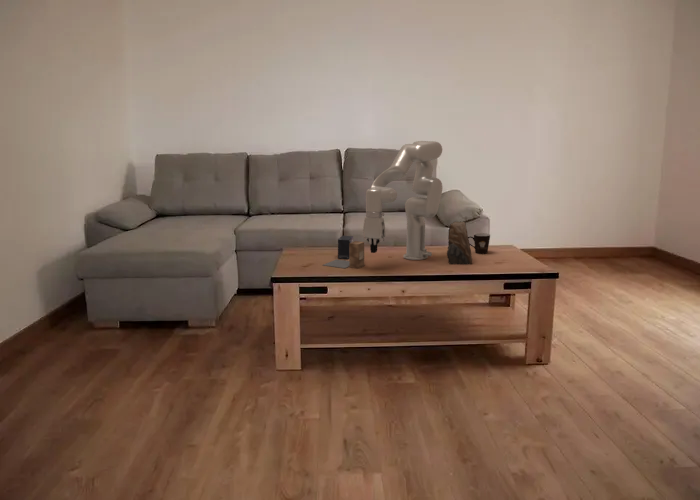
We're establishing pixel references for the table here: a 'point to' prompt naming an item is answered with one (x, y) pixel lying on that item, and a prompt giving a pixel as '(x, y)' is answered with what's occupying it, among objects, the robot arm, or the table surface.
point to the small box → (344, 246)
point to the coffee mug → (481, 242)
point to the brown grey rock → (458, 244)
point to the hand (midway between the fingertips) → (373, 252)
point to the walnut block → (356, 254)
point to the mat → (338, 264)
